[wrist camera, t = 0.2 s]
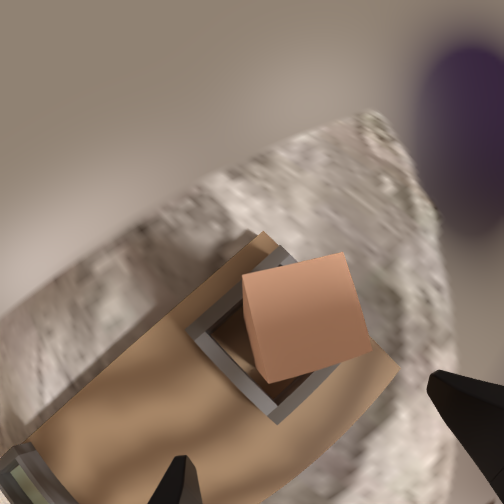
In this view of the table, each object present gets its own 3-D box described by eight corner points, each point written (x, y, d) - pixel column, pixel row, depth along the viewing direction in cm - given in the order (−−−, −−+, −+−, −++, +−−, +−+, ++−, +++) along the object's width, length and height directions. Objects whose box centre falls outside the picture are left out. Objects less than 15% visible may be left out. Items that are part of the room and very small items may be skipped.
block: (306, 354, 20) (372, 350, 9) (255, 368, 20) (268, 383, 9) (293, 306, 22) (342, 252, 11) (243, 318, 21) (241, 274, 10)
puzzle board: (392, 368, 21) (419, 368, 17) (99, 566, 10) (85, 582, 6) (262, 237, 25) (265, 214, 21) (5, 463, 15) (-17, 468, 10)
